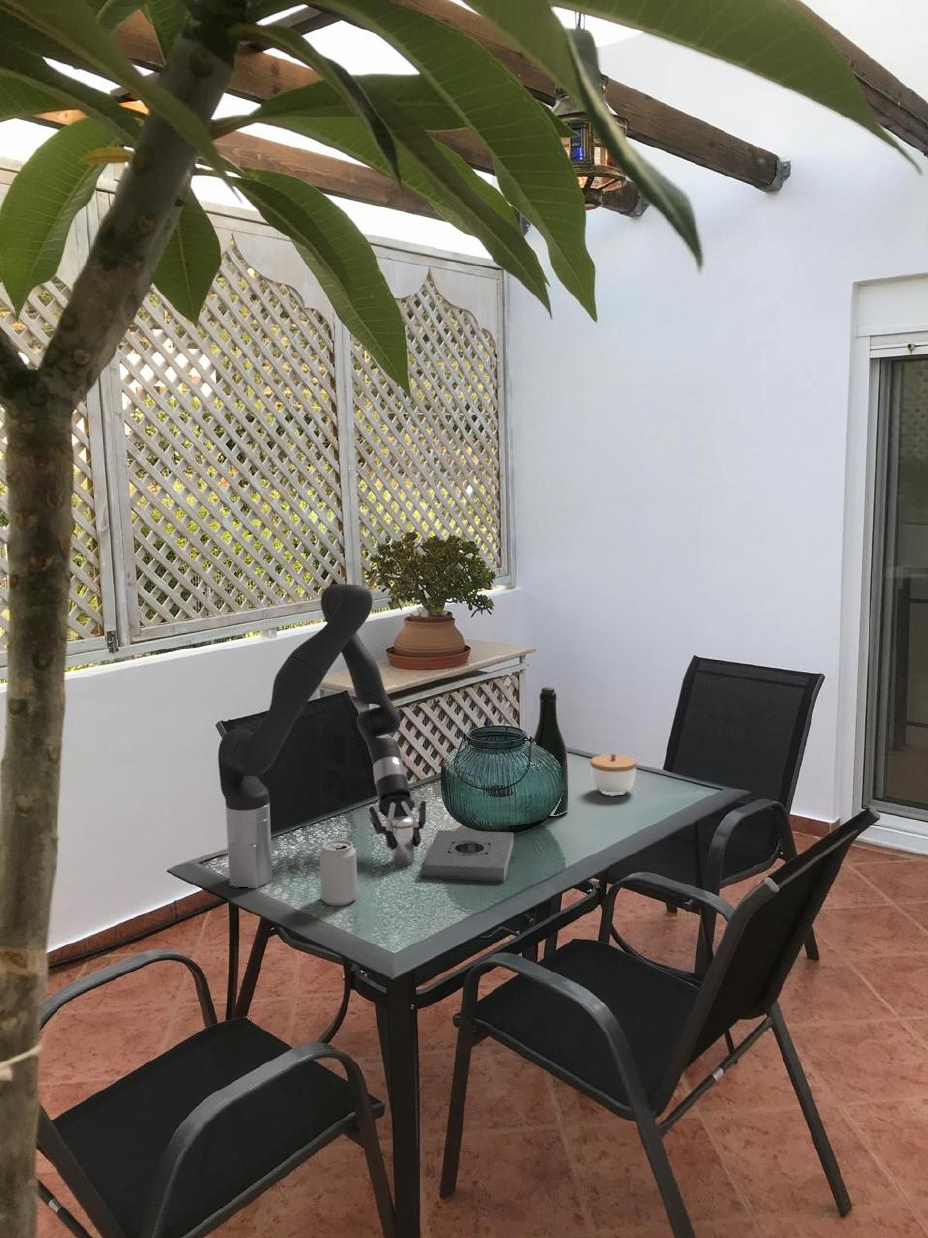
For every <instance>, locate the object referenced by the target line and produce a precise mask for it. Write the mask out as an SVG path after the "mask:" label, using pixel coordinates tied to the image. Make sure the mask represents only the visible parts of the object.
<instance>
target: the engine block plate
mask: <svg viewBox="0 0 928 1238" xmlns="http://www.w3.org/2000/svg"><path fill="white" fill-rule="evenodd" d="M513 847H514V832H509V831H508V832H505V831H503V832H502V831H475V830H473V831H472V830H450V829H449V830H448V829H447V830H446V829H445V830H444V829H443V830H442V829H438V831H437V832H436V834H435V837H434V838H433V841H432V843H431V845H430V847H429V849H428V851H427V853H426V855H425V857H424V860H423V862H422V863H421V878H422V879H437V880H438V879H439V880H461V881H462V880H463V881H464V880H465V881H486V882H489V881H490V882H505V880H506V875H507V872H508V868H509V863H510V861H511V860H510V859H511V856H512V853H513V852H512V851H513Z"/></svg>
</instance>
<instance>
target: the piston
mask: <svg viewBox="0 0 928 1238" xmlns="http://www.w3.org/2000/svg"><path fill="white" fill-rule="evenodd" d="M391 831H392V833H393V837H394V842H395V848H394V850H391V858H392V861H391V863H392V864H393V865H395V866H400V867H401V866H402V867H403V866H409V865H412V864H414V863H415V846H414V821H413V817H411V816H396V817H393V818H392V819H391Z"/></svg>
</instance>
